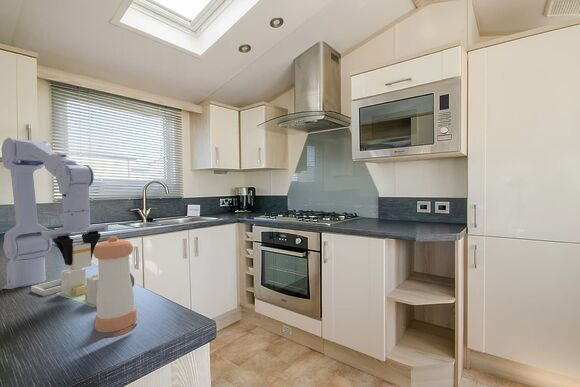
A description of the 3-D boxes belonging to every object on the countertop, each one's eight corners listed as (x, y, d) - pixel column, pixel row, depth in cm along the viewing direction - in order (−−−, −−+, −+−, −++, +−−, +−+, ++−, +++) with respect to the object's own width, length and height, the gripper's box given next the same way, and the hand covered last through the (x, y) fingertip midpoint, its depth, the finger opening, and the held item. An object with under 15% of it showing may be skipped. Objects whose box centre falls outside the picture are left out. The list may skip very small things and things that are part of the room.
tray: (31, 295, 80) (31, 286, 80) (63, 287, 86) (63, 278, 86) (43, 300, 76) (43, 290, 76) (76, 291, 83) (75, 282, 83)
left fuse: (61, 293, 78) (60, 271, 78) (78, 288, 81) (77, 267, 81) (69, 295, 76) (68, 272, 76) (86, 290, 79) (85, 268, 79)
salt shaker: (91, 341, 55) (87, 241, 54) (99, 325, 62) (95, 235, 61) (135, 333, 58) (131, 237, 57) (138, 318, 65) (134, 232, 64)
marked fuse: (66, 267, 76) (65, 244, 75) (83, 263, 79) (82, 241, 79) (74, 269, 74) (73, 246, 73) (91, 265, 77) (90, 243, 77)
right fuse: (87, 301, 72) (86, 277, 71) (104, 296, 75) (103, 273, 75) (95, 304, 70) (94, 280, 69) (112, 298, 73) (112, 275, 73)
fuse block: (55, 298, 78) (55, 286, 78) (80, 290, 83) (80, 279, 83) (94, 312, 68) (93, 298, 68) (119, 303, 73) (119, 290, 73)
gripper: (50, 214, 68) (52, 271, 68) (113, 209, 80) (115, 257, 81) (36, 213, 71) (39, 268, 72) (99, 208, 84) (101, 255, 84)
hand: (78, 262), depth 76 cm, fingers closed on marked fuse, 4 cm apart
